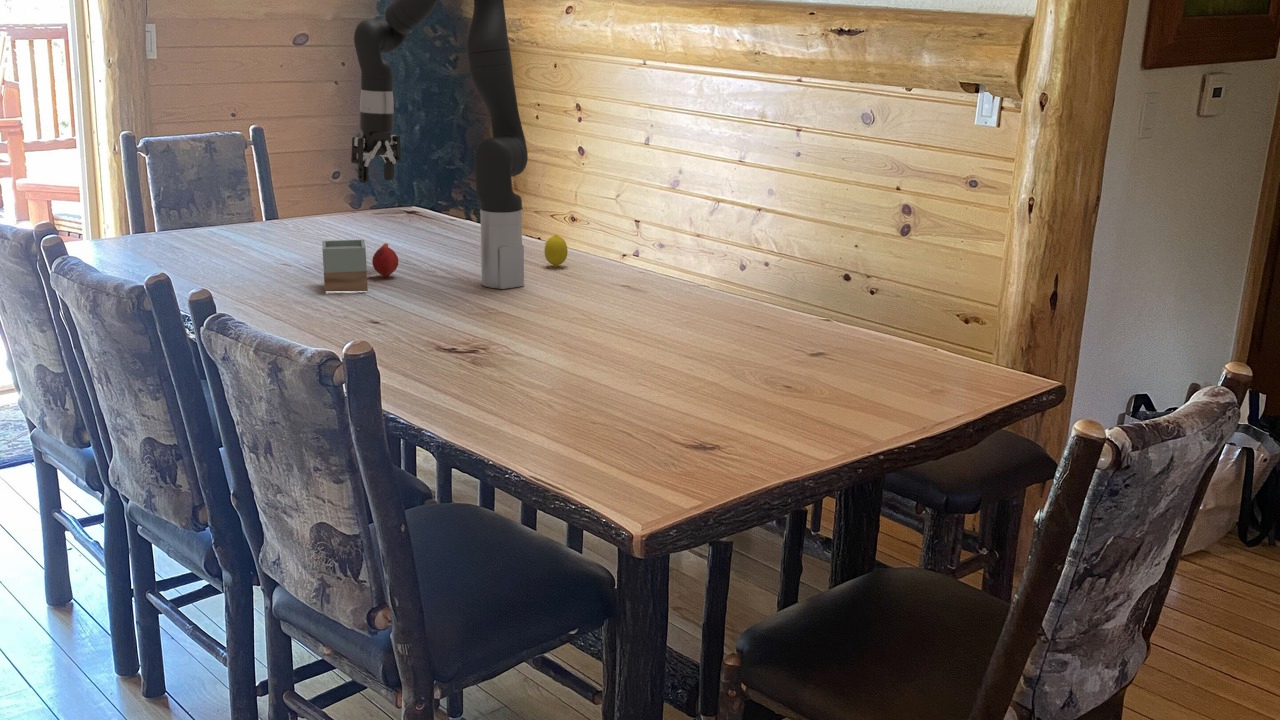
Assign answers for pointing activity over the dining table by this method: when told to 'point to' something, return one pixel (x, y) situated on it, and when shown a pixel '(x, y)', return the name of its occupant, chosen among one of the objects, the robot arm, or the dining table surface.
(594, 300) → the dining table surface
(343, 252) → the tower top
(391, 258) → the onion
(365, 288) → the tower base
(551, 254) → the lemon
